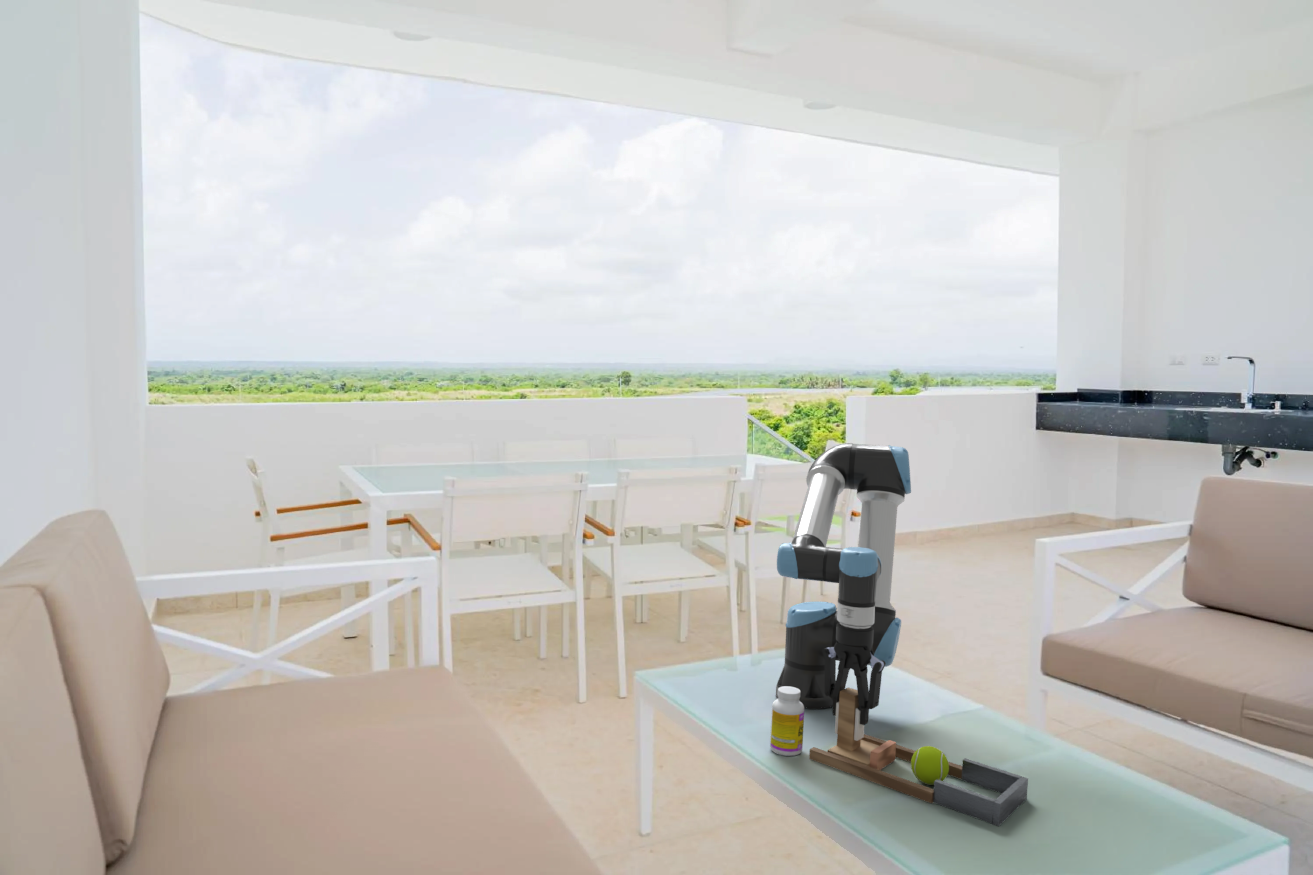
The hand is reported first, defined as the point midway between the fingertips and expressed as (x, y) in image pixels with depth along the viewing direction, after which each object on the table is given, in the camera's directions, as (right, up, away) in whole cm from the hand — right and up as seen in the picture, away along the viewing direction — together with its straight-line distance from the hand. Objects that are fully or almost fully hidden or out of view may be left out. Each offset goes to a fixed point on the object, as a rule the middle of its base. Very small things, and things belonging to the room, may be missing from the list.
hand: (849, 734), depth 178 cm
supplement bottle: (-13, -4, +1) cm, 13 cm away
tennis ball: (+13, -6, -11) cm, 18 cm away
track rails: (+6, -5, -5) cm, 9 cm away
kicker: (+2, -4, -1) cm, 5 cm away
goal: (+20, -6, -18) cm, 27 cm away
